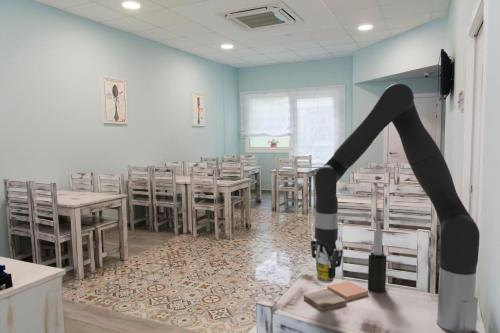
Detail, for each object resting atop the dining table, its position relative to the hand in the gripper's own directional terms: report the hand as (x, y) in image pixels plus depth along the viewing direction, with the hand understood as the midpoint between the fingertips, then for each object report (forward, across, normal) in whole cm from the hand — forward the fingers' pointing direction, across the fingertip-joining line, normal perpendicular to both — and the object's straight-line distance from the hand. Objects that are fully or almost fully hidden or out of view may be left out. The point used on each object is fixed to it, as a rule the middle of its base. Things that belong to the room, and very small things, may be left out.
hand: (325, 274), depth 121 cm
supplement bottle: (+2, 0, 0) cm, 2 cm away
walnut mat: (+9, 0, 0) cm, 9 cm away
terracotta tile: (+9, +2, -12) cm, 15 cm away
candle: (+10, -1, -23) cm, 25 cm away
